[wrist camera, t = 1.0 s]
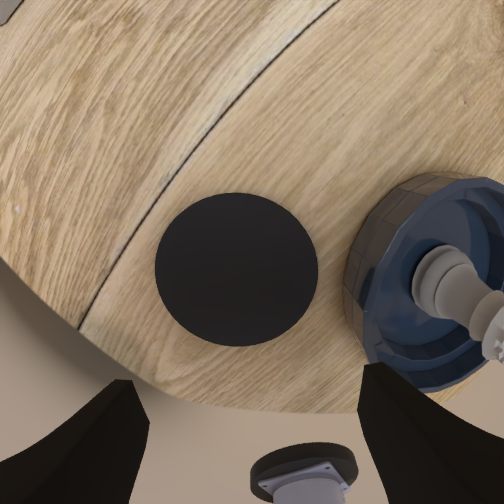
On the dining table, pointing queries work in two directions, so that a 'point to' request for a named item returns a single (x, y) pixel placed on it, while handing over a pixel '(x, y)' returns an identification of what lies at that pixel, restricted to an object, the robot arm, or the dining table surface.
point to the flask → (7, 9)
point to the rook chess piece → (461, 297)
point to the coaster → (236, 269)
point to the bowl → (403, 269)
